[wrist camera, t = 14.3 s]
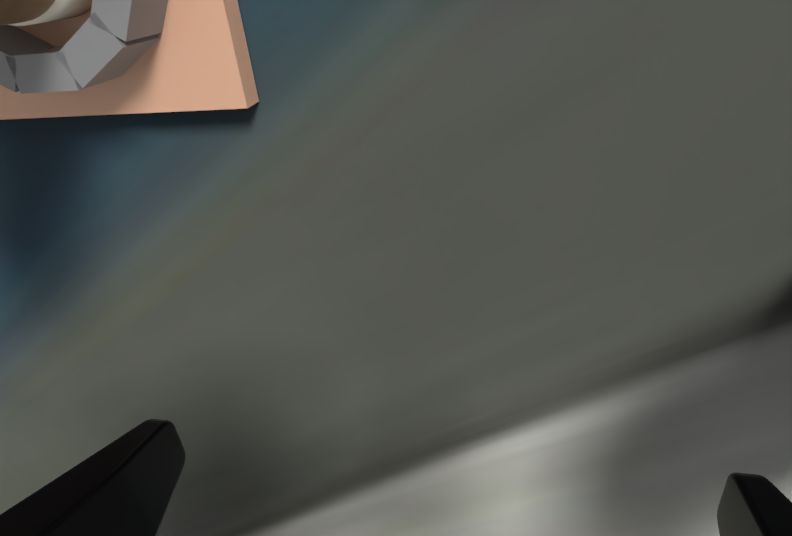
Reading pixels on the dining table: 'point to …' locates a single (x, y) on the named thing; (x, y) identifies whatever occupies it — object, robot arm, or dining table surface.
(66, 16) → the brown cylinder
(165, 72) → the collar
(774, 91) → the dining table surface
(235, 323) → the dining table surface
